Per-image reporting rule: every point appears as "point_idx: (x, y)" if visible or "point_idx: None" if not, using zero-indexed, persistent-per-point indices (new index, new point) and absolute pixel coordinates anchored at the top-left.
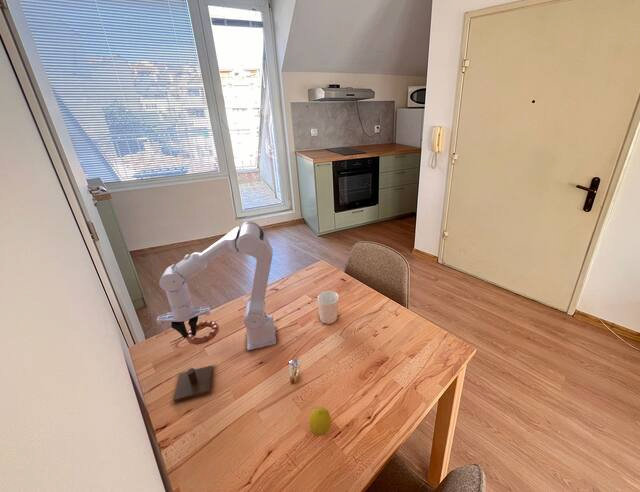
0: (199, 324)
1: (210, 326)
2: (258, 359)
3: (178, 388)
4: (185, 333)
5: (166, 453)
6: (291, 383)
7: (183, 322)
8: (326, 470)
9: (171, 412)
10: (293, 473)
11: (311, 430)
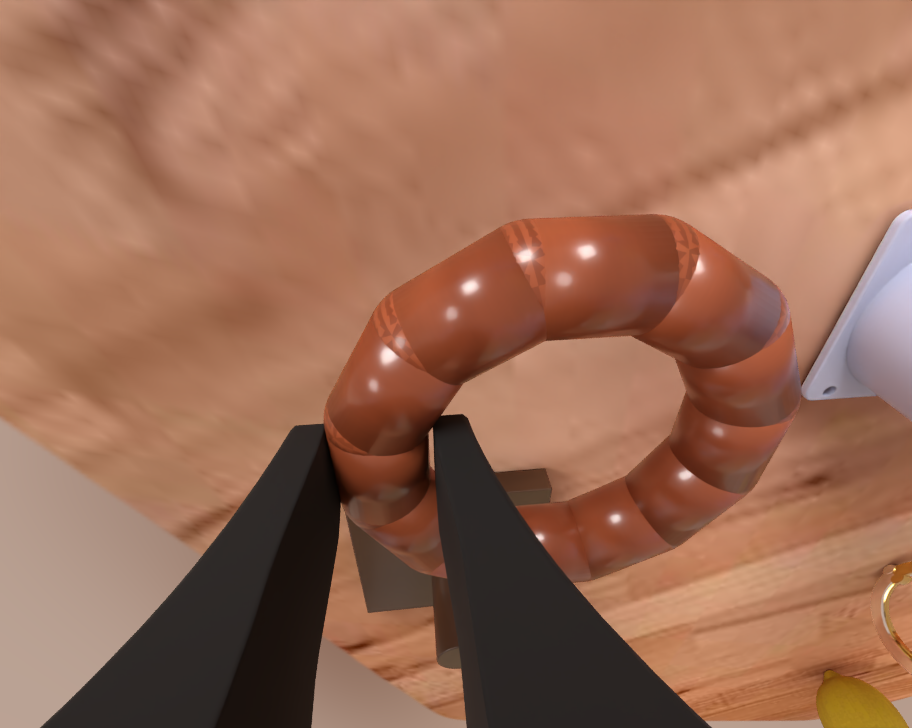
0: (523, 346)
1: (679, 362)
2: (815, 460)
3: (372, 576)
4: (328, 524)
5: (400, 688)
6: (879, 634)
7: (258, 693)
8: (779, 709)
9: (369, 615)
10: (713, 711)
11: (823, 725)
